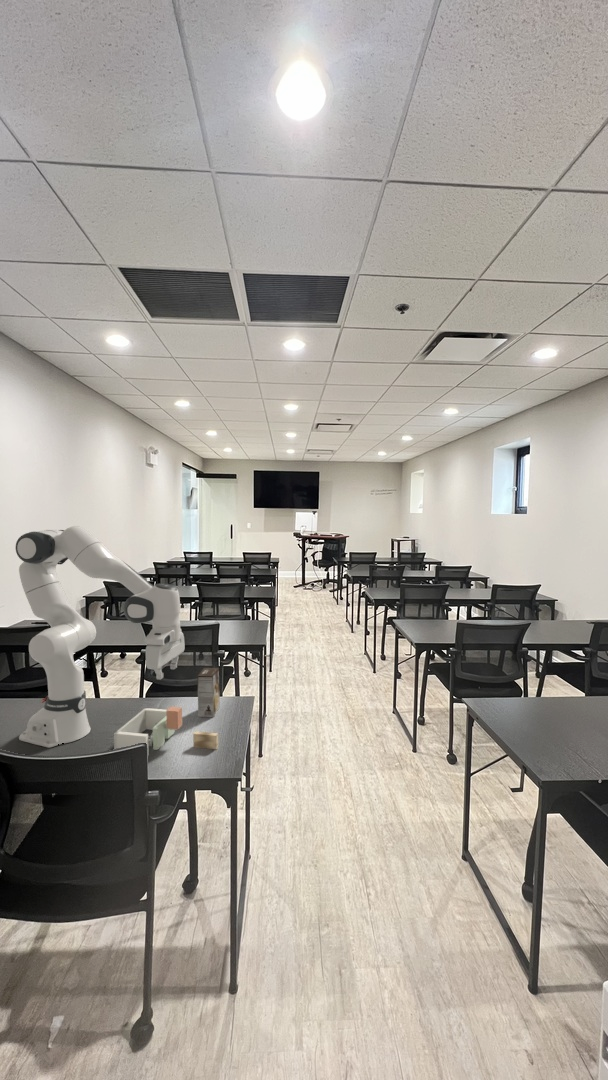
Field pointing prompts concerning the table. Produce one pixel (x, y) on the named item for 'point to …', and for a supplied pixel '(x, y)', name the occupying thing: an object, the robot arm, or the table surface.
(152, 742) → the soldier figure
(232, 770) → the table surface
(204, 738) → the tan wooden block
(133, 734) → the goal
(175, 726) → the t-shaped crossbar
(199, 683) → the coffee box
